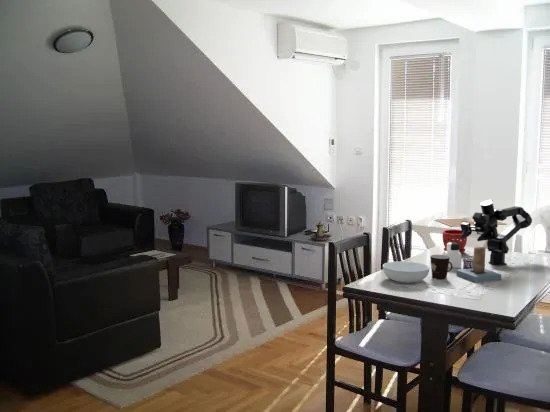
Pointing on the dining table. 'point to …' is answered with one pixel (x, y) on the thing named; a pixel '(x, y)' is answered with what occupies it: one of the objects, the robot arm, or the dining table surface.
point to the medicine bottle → (453, 255)
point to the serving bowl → (406, 271)
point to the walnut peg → (479, 260)
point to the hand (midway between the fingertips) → (469, 238)
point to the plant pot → (455, 235)
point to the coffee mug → (440, 266)
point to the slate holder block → (479, 275)
